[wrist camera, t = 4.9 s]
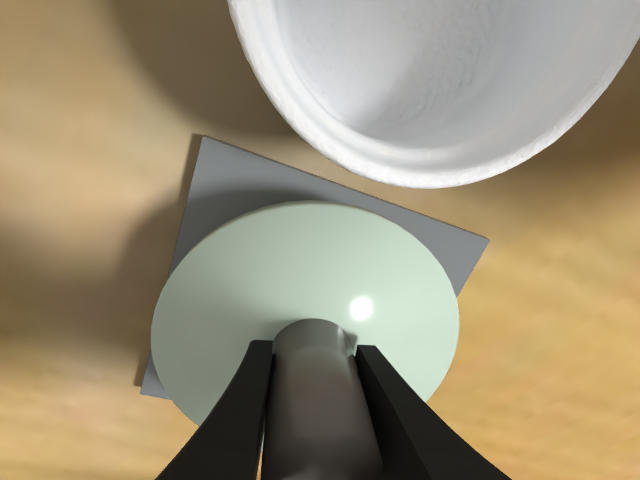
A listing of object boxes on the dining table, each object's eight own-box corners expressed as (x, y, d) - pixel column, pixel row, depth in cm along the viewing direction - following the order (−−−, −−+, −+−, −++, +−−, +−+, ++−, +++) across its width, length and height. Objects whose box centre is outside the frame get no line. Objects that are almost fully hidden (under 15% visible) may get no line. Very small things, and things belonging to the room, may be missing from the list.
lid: (491, 219, 10) (629, 296, 6) (411, 442, 14) (464, 584, 10) (149, 179, 9) (25, 245, 5) (163, 439, 13) (101, 603, 9)
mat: (484, 236, 13) (490, 240, 12) (372, 431, 16) (374, 438, 16) (205, 135, 11) (202, 136, 10) (143, 386, 14) (139, 393, 14)
